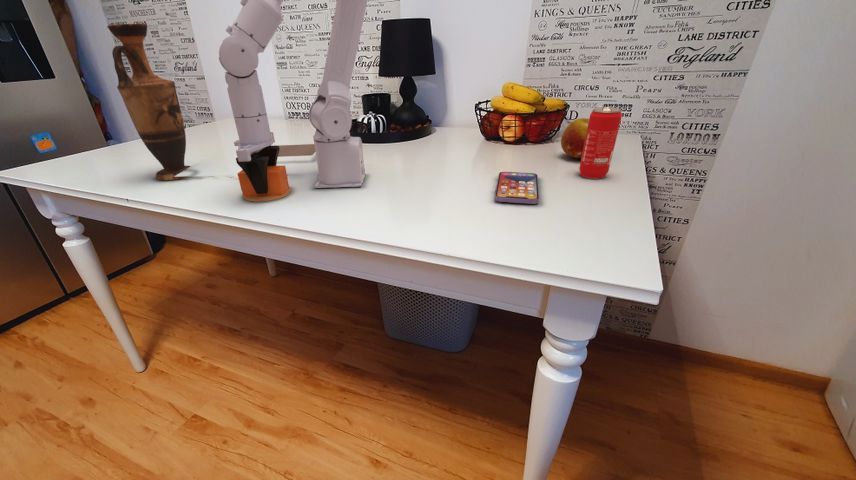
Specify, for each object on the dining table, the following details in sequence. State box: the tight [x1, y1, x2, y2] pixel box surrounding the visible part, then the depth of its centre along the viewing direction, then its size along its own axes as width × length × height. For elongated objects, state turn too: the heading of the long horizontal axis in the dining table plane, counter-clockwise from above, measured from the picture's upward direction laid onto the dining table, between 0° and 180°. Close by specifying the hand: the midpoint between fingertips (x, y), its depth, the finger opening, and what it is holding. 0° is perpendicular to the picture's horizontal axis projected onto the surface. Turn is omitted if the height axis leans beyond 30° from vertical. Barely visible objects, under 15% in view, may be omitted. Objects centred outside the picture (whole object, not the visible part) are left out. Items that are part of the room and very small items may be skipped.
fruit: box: [560, 117, 589, 159], centre depth 87 cm, size 10×9×8 cm
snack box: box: [237, 164, 290, 197], centre depth 78 cm, size 8×4×4 cm, turn 86°
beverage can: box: [579, 107, 623, 180], centre depth 75 cm, size 5×5×12 cm
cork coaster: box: [243, 186, 292, 203], centre depth 79 cm, size 9×9×1 cm
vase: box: [106, 23, 192, 181], centre depth 86 cm, size 11×11×30 cm
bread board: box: [277, 143, 316, 158], centre depth 103 cm, size 16×12×2 cm
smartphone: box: [494, 171, 540, 205], centre depth 73 cm, size 1×7×15 cm
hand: (266, 188), depth 78 cm, fingers closed on snack box, 4 cm apart
